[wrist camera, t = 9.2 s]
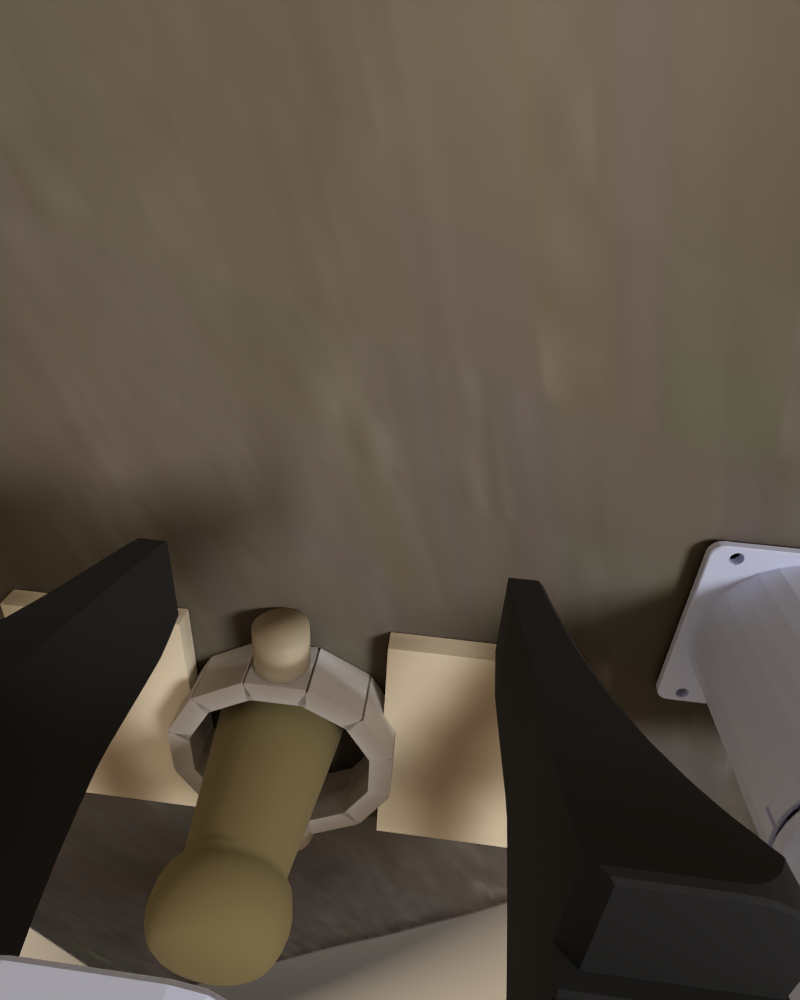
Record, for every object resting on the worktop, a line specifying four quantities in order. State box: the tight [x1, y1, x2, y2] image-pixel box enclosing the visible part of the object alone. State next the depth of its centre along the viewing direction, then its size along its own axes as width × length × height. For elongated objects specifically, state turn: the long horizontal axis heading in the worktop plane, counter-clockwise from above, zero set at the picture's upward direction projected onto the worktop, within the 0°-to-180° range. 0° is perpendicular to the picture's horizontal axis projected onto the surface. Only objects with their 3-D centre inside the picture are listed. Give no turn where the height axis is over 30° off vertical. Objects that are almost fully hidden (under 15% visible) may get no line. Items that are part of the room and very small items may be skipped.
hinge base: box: [0, 589, 507, 851], centre depth 30 cm, size 25×14×2 cm, turn 87°
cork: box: [143, 700, 344, 986], centre depth 26 cm, size 6×6×11 cm
